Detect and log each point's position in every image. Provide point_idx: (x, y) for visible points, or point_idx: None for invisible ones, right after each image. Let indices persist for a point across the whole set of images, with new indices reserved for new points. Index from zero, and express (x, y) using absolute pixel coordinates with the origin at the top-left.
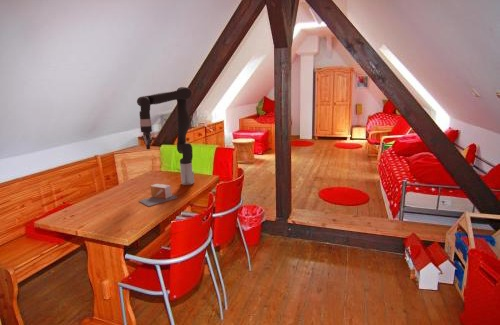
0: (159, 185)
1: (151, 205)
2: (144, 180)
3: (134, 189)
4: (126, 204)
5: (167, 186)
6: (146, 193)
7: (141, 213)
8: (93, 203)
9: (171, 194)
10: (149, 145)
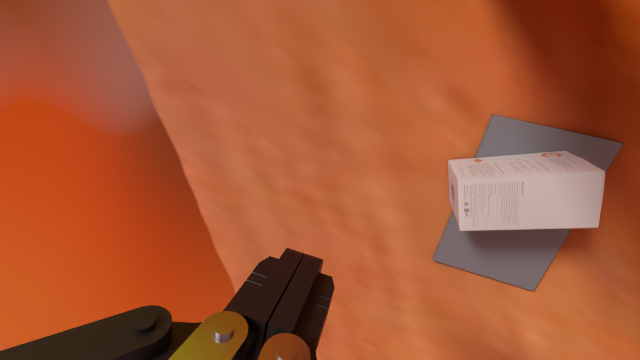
0: (517, 204)
1: (539, 279)
2: (182, 23)
3: (273, 156)
4: (408, 296)
5: (595, 196)
6: (375, 170)
7: (554, 343)
8: None
9: (542, 128)
10: (318, 333)
